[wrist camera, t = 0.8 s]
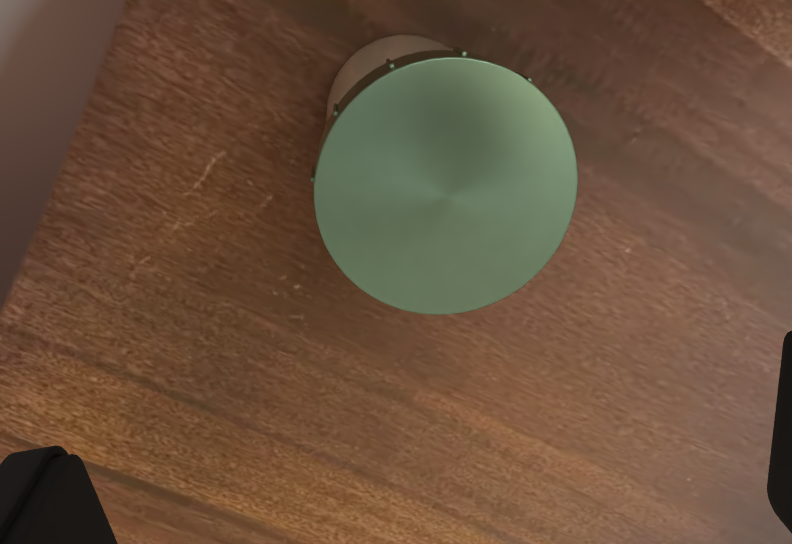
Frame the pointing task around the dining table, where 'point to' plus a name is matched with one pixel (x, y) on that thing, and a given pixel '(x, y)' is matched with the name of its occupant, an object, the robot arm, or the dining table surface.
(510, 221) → the jar lid
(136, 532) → the dining table surface
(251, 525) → the dining table surface
